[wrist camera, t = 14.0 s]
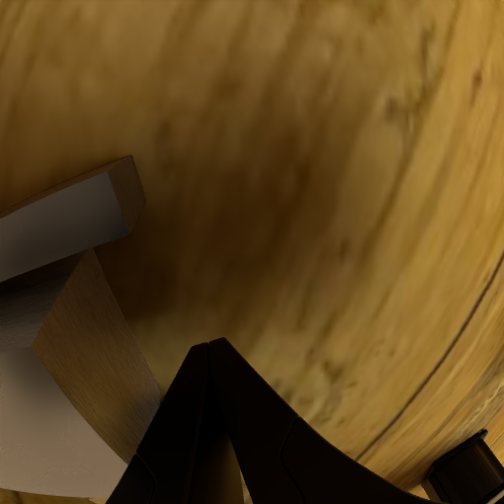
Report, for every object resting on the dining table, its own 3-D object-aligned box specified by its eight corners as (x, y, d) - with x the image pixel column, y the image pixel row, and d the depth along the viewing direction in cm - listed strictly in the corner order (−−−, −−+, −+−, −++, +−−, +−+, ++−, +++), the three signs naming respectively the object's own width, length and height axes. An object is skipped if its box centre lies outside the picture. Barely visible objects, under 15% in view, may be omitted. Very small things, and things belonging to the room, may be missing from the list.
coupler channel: (131, 155, 7) (99, 177, 4) (232, 407, 11) (245, 473, 9) (-105, 279, 6) (-143, 316, 4) (7, 438, 10) (-6, 483, 8)
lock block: (93, 241, 8) (30, 346, 4) (160, 382, 10) (161, 495, 6) (-54, 294, 7) (-117, 370, 3) (17, 402, 10) (-10, 485, 6)
